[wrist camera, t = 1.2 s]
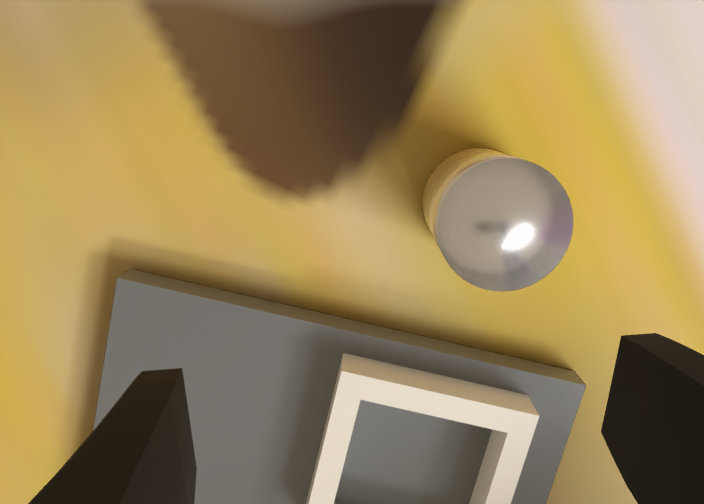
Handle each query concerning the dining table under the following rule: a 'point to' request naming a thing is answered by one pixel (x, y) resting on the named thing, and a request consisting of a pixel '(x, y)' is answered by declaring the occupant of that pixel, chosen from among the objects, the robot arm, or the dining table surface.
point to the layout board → (338, 402)
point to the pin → (497, 218)
